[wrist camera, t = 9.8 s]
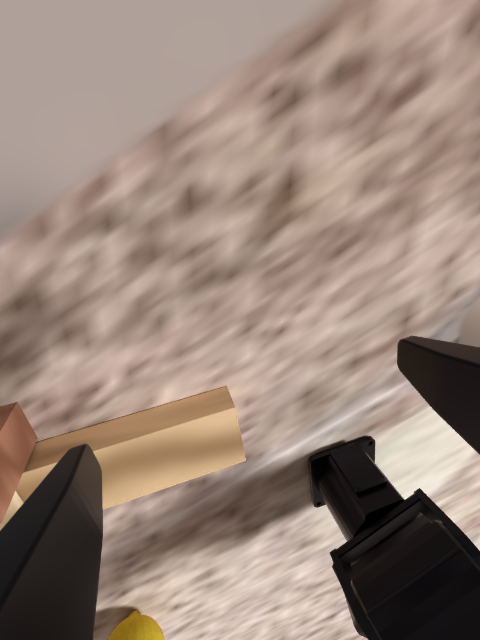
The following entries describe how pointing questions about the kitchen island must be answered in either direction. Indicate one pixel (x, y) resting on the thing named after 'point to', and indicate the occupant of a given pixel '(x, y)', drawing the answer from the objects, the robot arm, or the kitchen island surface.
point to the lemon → (137, 628)
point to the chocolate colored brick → (13, 457)
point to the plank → (149, 447)
